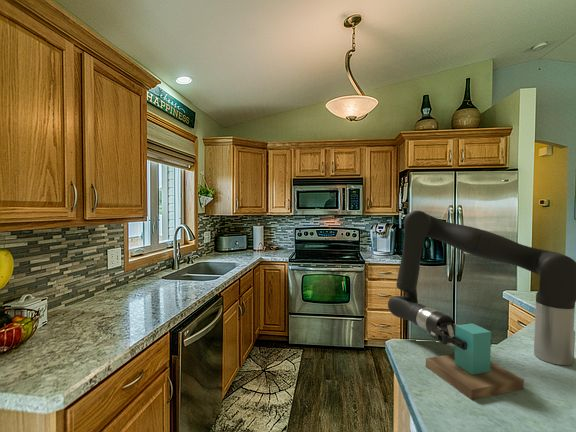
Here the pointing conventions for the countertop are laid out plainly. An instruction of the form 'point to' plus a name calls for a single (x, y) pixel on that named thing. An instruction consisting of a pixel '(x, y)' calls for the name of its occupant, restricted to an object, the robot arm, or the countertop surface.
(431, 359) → the post stand
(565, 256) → the robot arm
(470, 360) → the tall teal pillar
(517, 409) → the countertop surface
